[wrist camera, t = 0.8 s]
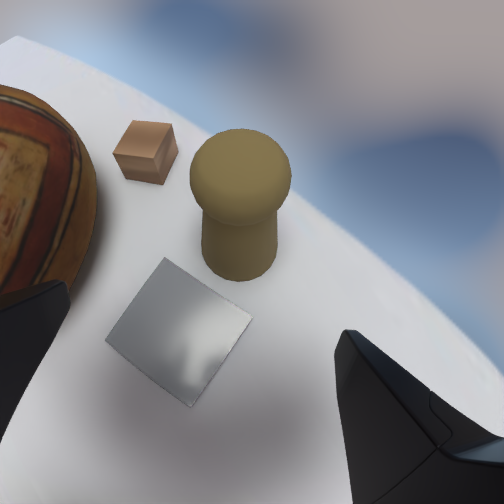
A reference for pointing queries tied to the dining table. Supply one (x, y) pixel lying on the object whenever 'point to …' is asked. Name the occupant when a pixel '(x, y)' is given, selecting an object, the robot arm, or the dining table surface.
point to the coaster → (178, 331)
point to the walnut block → (146, 151)
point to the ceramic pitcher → (42, 194)
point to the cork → (240, 201)
